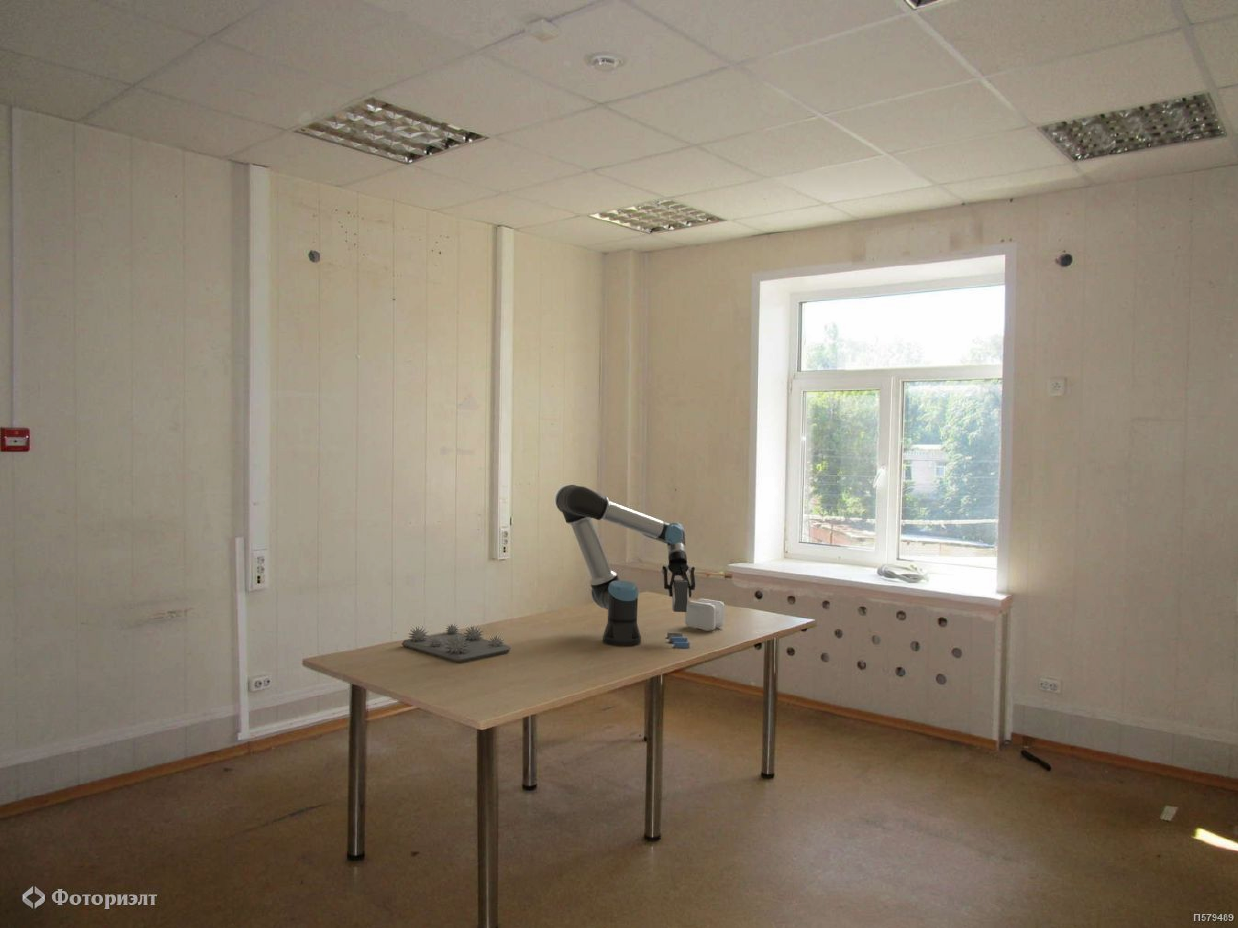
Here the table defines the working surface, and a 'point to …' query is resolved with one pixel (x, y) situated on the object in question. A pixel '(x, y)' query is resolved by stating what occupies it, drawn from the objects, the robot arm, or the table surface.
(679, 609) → the dark grey rectangular block
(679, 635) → the pair of grey bars
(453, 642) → the decorative tray
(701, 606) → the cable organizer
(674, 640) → the blue flat block
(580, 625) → the table surface
